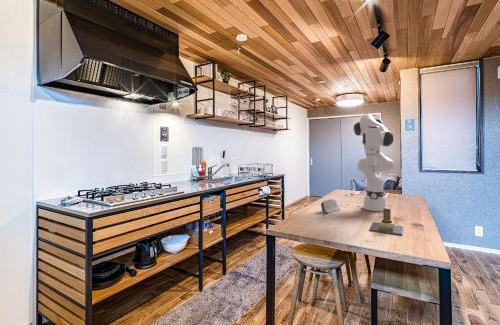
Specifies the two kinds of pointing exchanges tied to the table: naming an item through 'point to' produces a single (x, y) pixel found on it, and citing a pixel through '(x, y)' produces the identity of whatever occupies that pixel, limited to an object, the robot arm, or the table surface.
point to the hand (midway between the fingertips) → (372, 172)
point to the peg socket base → (386, 228)
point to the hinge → (329, 206)
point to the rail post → (386, 215)
